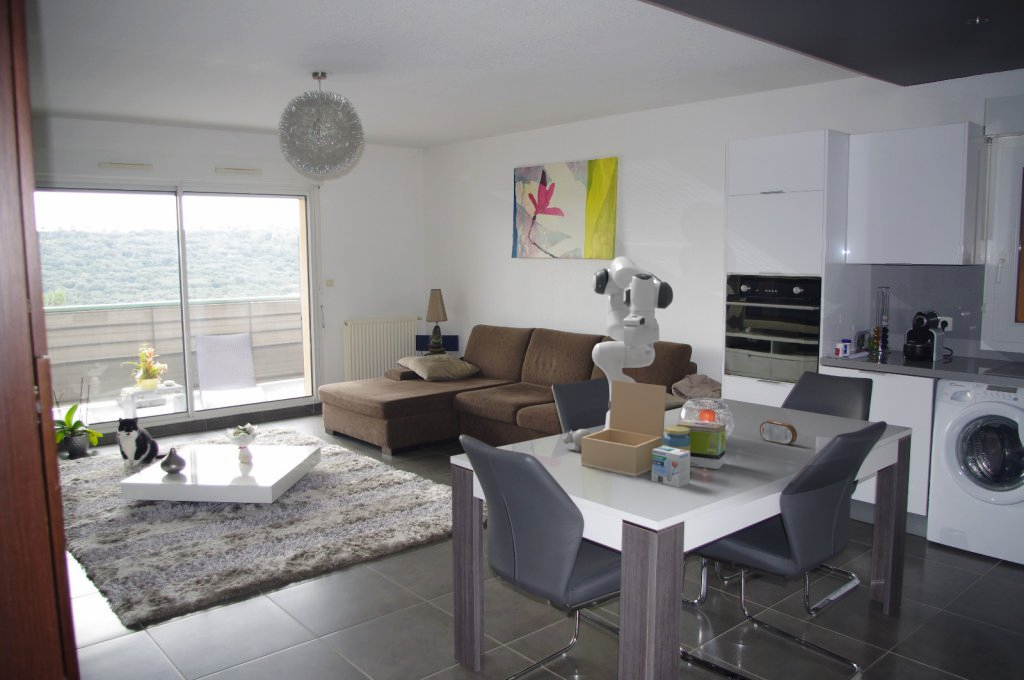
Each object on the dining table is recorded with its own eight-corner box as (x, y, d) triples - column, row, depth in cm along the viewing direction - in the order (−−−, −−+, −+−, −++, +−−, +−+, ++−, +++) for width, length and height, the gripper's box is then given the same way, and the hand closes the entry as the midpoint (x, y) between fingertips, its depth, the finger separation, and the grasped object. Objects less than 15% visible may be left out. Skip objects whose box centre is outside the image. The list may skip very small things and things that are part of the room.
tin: (797, 445, 286) (797, 424, 285) (792, 447, 284) (793, 425, 283) (762, 438, 297) (763, 418, 296) (758, 439, 295) (758, 419, 294)
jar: (660, 467, 257) (661, 425, 255) (687, 467, 256) (688, 425, 255) (665, 475, 248) (665, 431, 246) (692, 475, 247) (693, 431, 246)
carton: (608, 454, 274) (608, 428, 273) (661, 464, 260) (662, 437, 259) (581, 465, 260) (581, 437, 259) (635, 476, 246) (635, 447, 245)
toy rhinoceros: (567, 446, 287) (567, 424, 286) (595, 450, 281) (595, 428, 280) (558, 450, 281) (558, 428, 280) (586, 454, 275) (586, 432, 274)
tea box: (725, 463, 262) (726, 422, 260) (717, 470, 253) (718, 428, 252) (684, 457, 269) (684, 418, 268) (675, 464, 261) (676, 423, 259)
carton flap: (609, 428, 273) (616, 427, 277) (662, 437, 259) (669, 435, 263) (612, 380, 273) (619, 379, 277) (665, 386, 258) (672, 385, 263)
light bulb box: (650, 480, 242) (651, 448, 241) (662, 476, 246) (663, 445, 245) (679, 487, 234) (679, 454, 233) (690, 483, 239) (691, 450, 238)
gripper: (648, 316, 278) (648, 352, 279) (620, 320, 262) (620, 358, 263) (664, 317, 274) (663, 354, 275) (636, 321, 258) (635, 360, 259)
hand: (641, 356), depth 269 cm, fingers open, 8 cm apart
